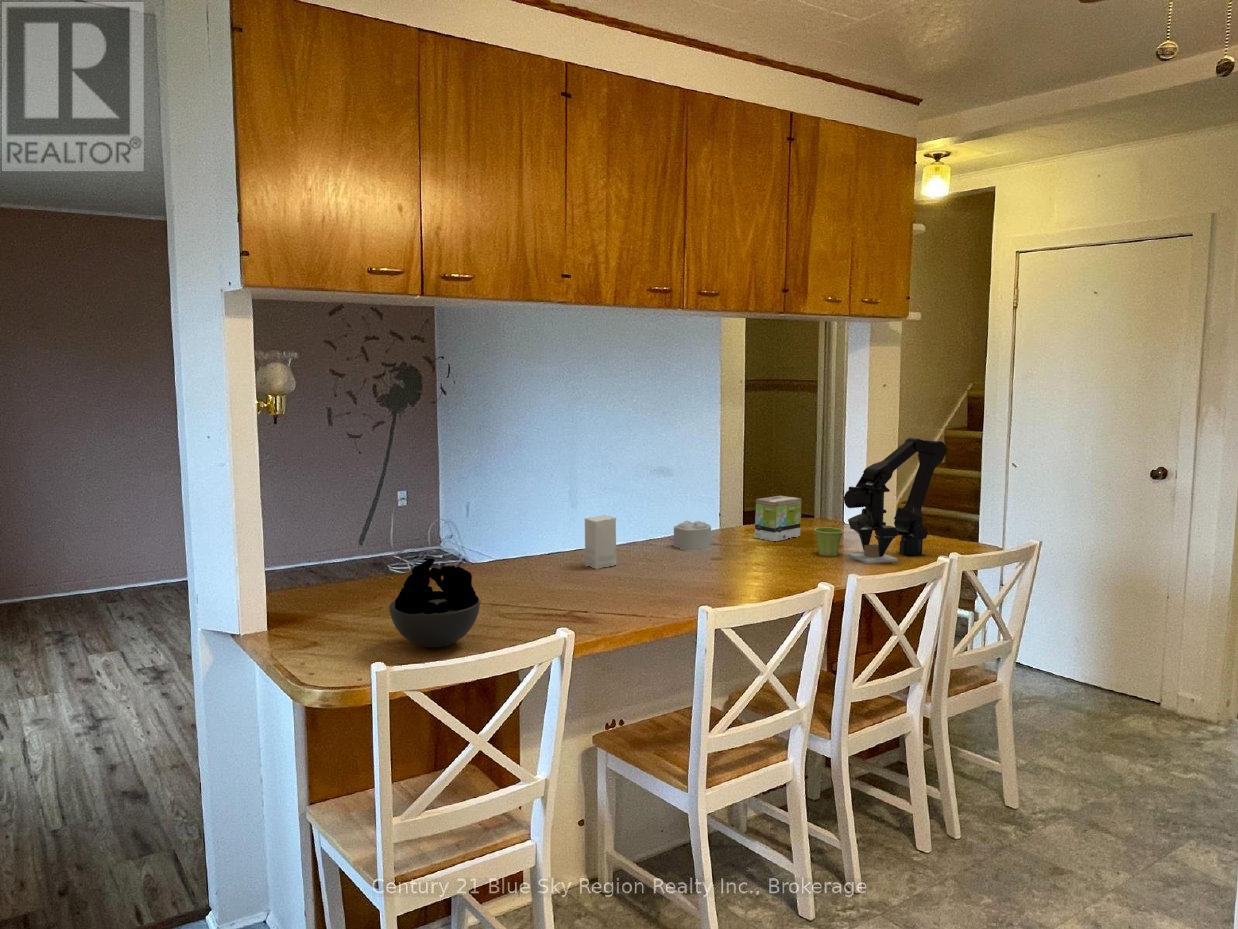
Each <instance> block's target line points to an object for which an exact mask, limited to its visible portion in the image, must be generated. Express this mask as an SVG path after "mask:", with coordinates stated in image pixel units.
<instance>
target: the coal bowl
mask: <svg viewBox="0 0 1238 929" xmlns="http://www.w3.org/2000/svg"><path fill="white" fill-rule="evenodd" d="M434 562H436V559H434V558H432V557H431V558H428V559H426V560H424V561H422V562H421V563H419V564H417V565H415V566H414V567H412V569H411V574H410V575H408V577H407V578H406V579H405V581H404V583H403V587H401V589H400V592H399V594H398V595H397V597H396V598H395V600H393V601H392V602H391V603H390V604H389V606H388V607H389V609H388V610H389V616H390V617H391V621H392V622H393V624H394V627H395V628H396V630H397V631H398V633H399V634H400V635H401V636H402V637H403V638H405V639H406V640H407V641H409V642H410V643H412V644H414V645H416V646H419V647H421V648H422V647H423V648H427V647H439V648H444V647H447V645H448V646H450V645H452V644H454V643H457V642H459V641H460V640H461V639H463V638H464V637H465V636H466V635H467V634H468V633H469V631H470V630H472V628H473V626H474V624H475V623H476V621H477V617H478V615H479V611H480V608H481V601H480V599H479V596H477V593H476V591H475V589H474V587H473V585H472V584H473V583H472V582H473V577H472V573H471V572H470V571H469V570H466V569H464V568H463V567H461V566H455V565H446V566H445V565H441V567H440V568H437V567H436V566H435V567H434V566H433V564H435V563H434ZM432 566H433V567H432ZM431 580H433V581H435V584H436V586H438V588H440V590H434V589H433V587H432V586H429V585H430V582H431ZM443 646H444V647H443Z"/></svg>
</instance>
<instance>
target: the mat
mask: <svg viewBox="0 0 1238 929" xmlns="http://www.w3.org/2000/svg"><path fill="white" fill-rule="evenodd" d="M845 557H846V558H849V559H852V560H855V562H856V561H857V562H859V563H862V564H864V565H873V564H876V565H879V564H887V563H889V564H890V563H901V562H903V561H902V560H898V561H892V562H878V563H865V562H863V561H860V560H857V559H855V558H852V557H850V556H849V554H848V555H845Z"/></svg>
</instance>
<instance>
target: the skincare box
mask: <svg viewBox="0 0 1238 929" xmlns="http://www.w3.org/2000/svg"><path fill="white" fill-rule="evenodd" d="M616 523H617V517H614V516H613V517H612V516H609V515H606V514H605V515H599V516H593V517H592V516H591V517H585V518H584V562H585V563H584V565H585V564H586V565H589V566H592V567H594V568H601V569H603V568H602V567H607V568H610V567H609V566H612V567H615V566H614V565H616V566H617V524H616Z"/></svg>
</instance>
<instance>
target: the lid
mask: <svg viewBox="0 0 1238 929" xmlns="http://www.w3.org/2000/svg"><path fill="white" fill-rule="evenodd" d="M863 551H864V552H856V553H855V552H854V553H849V554H848V555H849V556H850V557H852V558H855V559H857V560H860V561H863V562H865V563H878V562H891V563H893V562H892V561H898V557H894V556H892V555H889V554H886V553H884V555H883V557H880V556H879V548H878V544H869V545H864V550H863ZM878 564H879V563H878Z"/></svg>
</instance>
